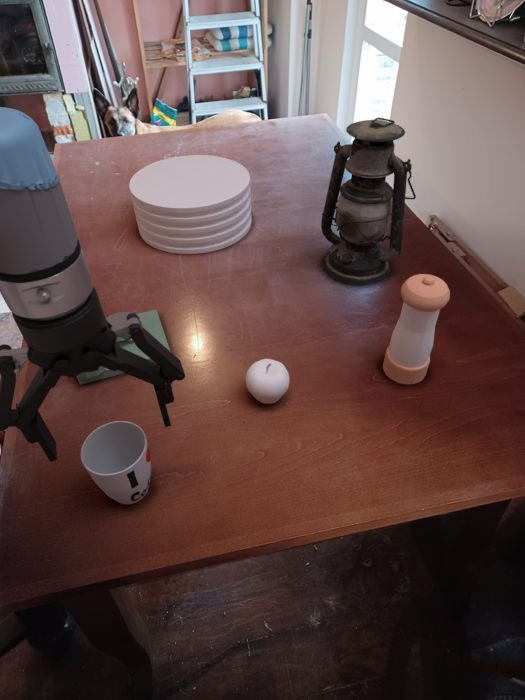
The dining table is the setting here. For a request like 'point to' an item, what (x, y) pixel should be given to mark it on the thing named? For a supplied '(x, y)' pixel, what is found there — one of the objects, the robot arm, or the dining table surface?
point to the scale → (130, 347)
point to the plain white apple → (267, 380)
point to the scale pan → (118, 320)
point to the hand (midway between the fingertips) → (111, 434)
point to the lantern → (365, 204)
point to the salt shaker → (415, 328)
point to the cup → (118, 460)
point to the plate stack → (192, 203)
